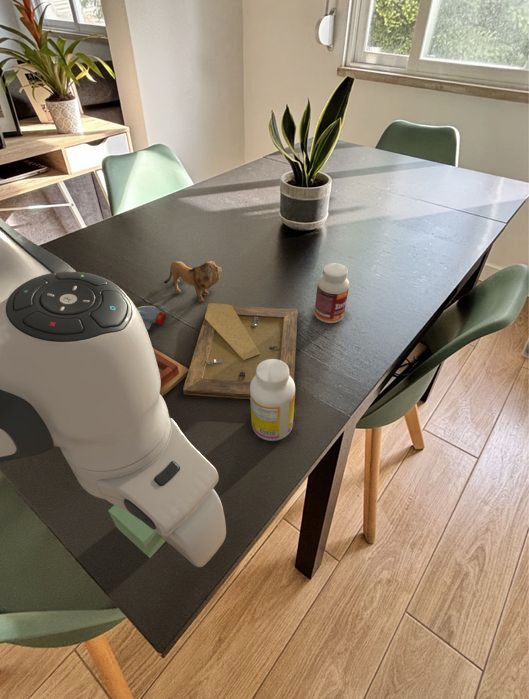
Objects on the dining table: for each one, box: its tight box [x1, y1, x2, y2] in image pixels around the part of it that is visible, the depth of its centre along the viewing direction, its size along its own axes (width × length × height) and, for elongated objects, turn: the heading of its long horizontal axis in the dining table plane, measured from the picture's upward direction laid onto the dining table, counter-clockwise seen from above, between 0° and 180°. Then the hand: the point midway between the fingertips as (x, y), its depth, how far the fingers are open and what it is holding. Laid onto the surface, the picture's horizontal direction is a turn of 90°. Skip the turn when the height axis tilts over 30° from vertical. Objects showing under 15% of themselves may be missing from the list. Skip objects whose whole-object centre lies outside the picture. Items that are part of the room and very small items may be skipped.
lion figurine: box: [163, 260, 222, 303], centre depth 91 cm, size 15×5×9 cm, turn 67°
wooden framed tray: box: [153, 347, 189, 398], centre depth 74 cm, size 13×11×3 cm
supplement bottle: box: [249, 359, 296, 442], centre depth 64 cm, size 7×7×13 cm
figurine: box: [136, 305, 167, 331], centre depth 85 cm, size 5×8×4 cm
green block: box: [107, 504, 166, 559], centre depth 47 cm, size 6×6×4 cm
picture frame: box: [182, 302, 298, 400], centre depth 80 cm, size 19×2×24 cm
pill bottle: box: [314, 262, 350, 324], centre depth 85 cm, size 6×6×11 cm
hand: (149, 516), depth 47 cm, fingers closed on green block, 5 cm apart
